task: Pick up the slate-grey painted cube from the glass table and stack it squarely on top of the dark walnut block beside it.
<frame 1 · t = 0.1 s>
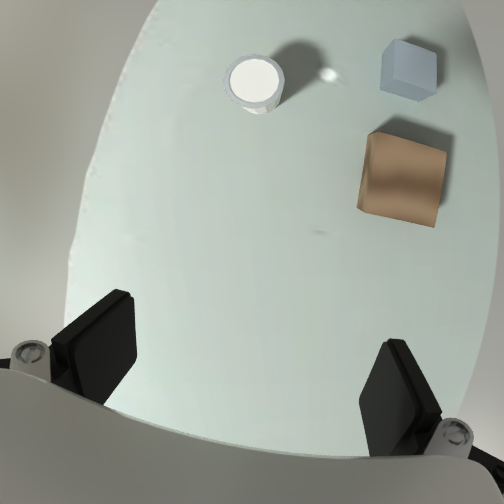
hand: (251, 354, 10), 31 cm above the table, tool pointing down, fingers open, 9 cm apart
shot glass: (259, 95, 36), on the table
slate cube: (400, 77, 32), on the table
walnut block: (395, 178, 37), on the table
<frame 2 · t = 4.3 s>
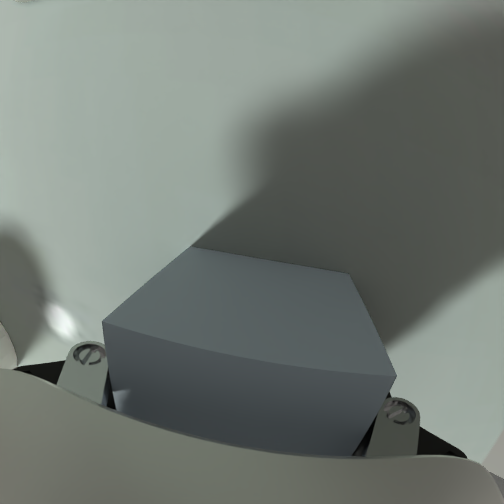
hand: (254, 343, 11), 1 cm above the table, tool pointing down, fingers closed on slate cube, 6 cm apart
slate cube: (257, 330, 12), on the table, touching gripper
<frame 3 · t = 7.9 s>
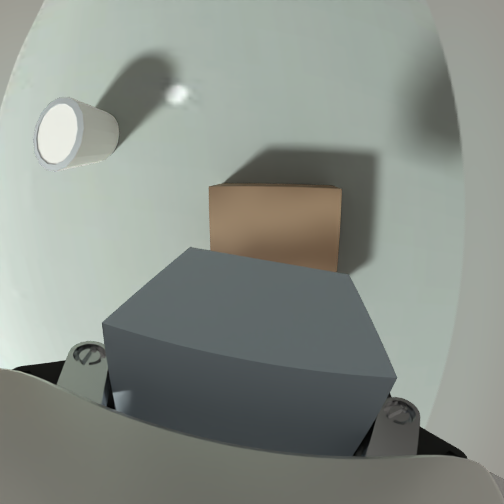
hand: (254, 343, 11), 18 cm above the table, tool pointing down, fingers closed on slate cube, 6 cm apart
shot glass: (99, 136, 27), on the table
slate cube: (257, 331, 12), point 17 cm above the table, touching gripper
walnut block: (276, 237, 28), on the table
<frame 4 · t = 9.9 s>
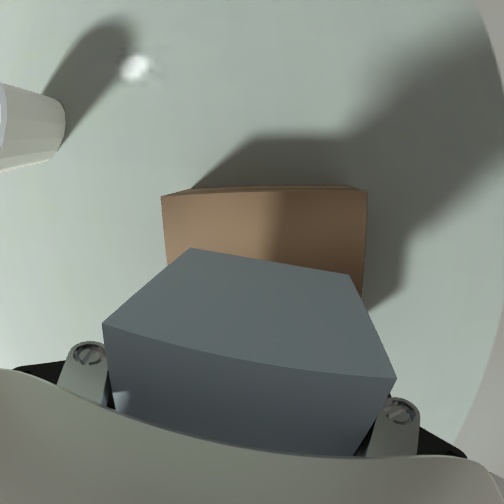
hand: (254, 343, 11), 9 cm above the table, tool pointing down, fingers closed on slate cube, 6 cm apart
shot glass: (45, 130, 19), on the table
slate cube: (257, 331, 12), point 8 cm above the table, touching gripper
walnut block: (270, 261, 20), on the table
when the fingers open (7 cm above the table, at t = 11.7 s): slate cube drops 1 cm, resting on walnut block.
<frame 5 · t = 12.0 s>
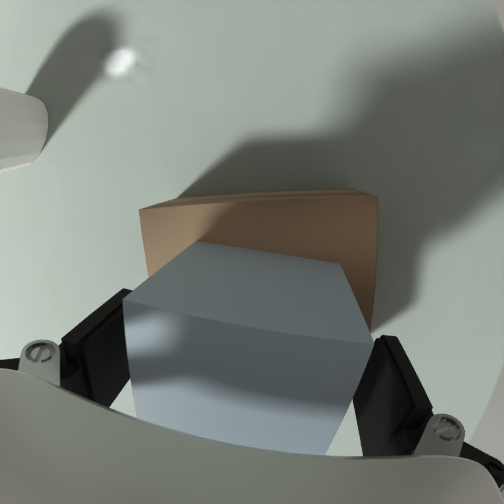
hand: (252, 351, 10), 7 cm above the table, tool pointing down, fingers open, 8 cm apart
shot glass: (28, 131, 17), on the table
slate cube: (257, 316, 13), point 5 cm above the table, touching walnut block
walnut block: (268, 276, 18), on the table, touching slate cube
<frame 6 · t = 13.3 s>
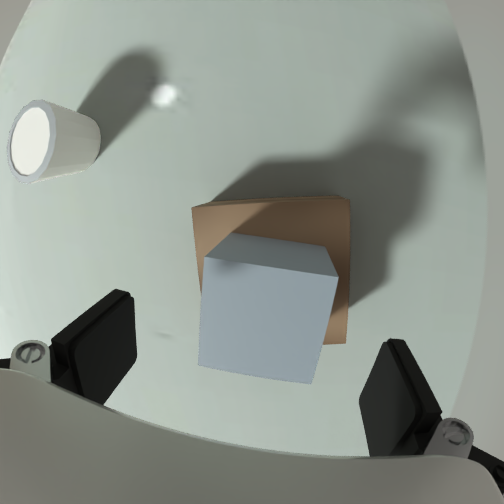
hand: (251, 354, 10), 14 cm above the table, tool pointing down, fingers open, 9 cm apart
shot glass: (80, 144, 24), on the table
slate cube: (271, 283, 20), point 5 cm above the table, touching walnut block
walnut block: (277, 259, 24), on the table, touching slate cube
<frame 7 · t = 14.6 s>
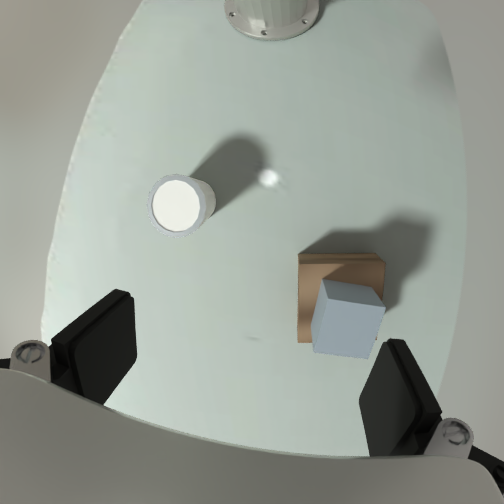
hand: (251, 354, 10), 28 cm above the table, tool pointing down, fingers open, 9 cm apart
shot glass: (195, 201, 38), on the table
slate cube: (341, 306, 33), point 5 cm above the table, touching walnut block
walnut block: (335, 289, 38), on the table, touching slate cube
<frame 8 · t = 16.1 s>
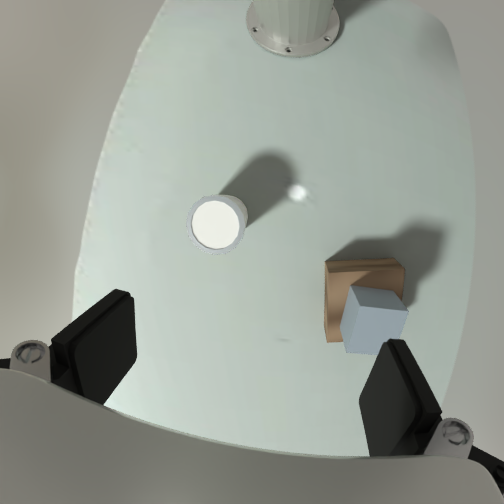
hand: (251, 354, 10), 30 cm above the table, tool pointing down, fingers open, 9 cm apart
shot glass: (227, 215, 40), on the table
slate cube: (366, 309, 36), point 5 cm above the table
walnut block: (358, 292, 41), on the table
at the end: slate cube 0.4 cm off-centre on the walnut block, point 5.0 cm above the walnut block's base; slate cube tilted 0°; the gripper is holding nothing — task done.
